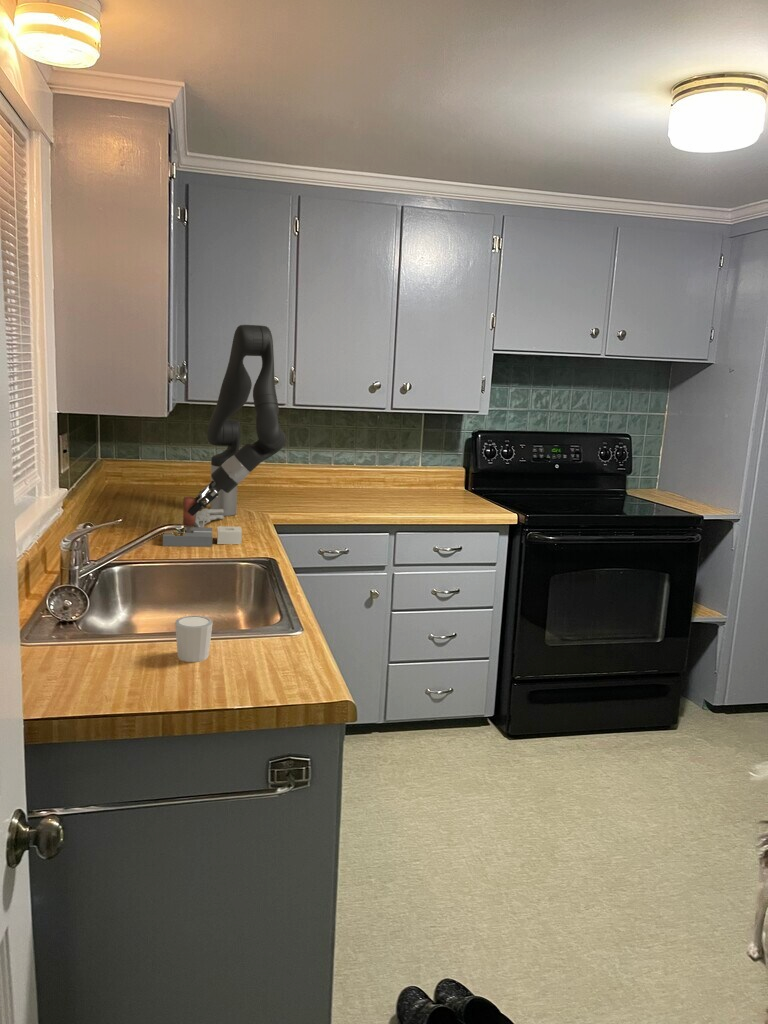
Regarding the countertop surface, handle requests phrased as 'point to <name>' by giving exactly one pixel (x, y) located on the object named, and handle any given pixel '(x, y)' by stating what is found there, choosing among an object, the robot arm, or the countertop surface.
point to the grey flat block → (190, 538)
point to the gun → (207, 516)
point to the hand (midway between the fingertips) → (190, 510)
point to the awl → (187, 518)
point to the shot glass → (193, 638)
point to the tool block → (229, 535)
